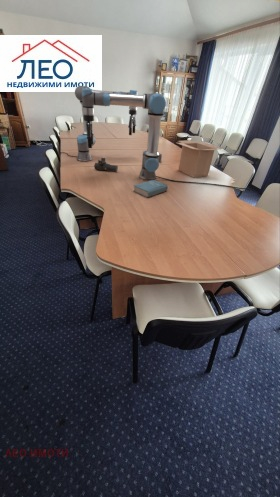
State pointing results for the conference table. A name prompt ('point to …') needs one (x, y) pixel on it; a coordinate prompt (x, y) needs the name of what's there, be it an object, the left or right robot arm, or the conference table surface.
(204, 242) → the conference table surface
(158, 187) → the book
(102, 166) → the laser sight
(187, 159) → the box
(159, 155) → the brick
